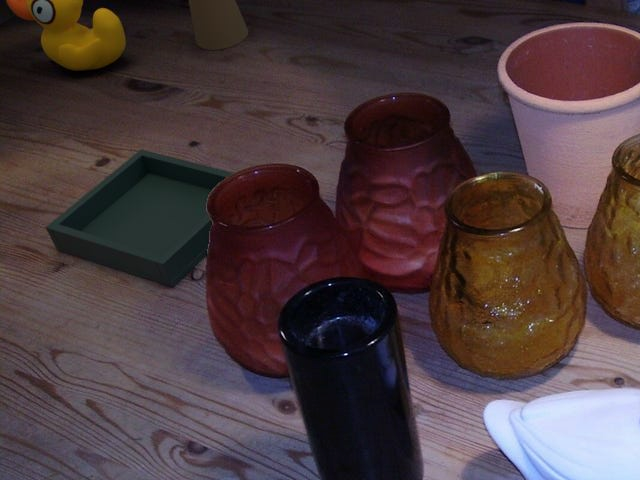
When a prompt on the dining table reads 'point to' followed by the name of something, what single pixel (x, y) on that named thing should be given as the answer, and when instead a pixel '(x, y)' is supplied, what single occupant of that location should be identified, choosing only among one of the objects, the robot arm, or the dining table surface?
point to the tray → (143, 218)
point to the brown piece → (217, 23)
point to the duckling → (74, 33)
